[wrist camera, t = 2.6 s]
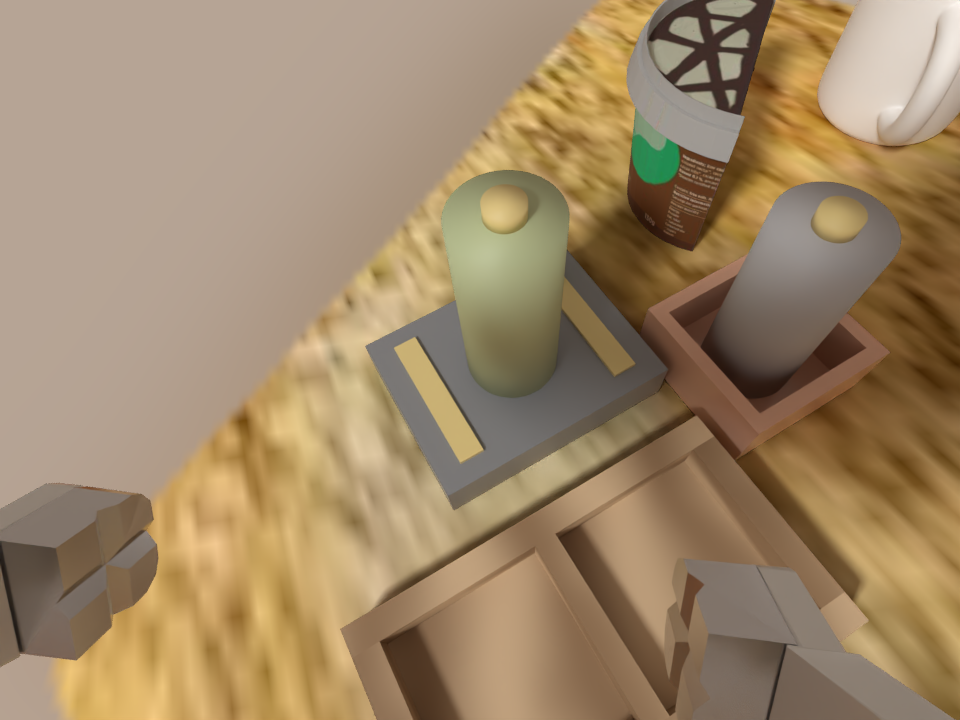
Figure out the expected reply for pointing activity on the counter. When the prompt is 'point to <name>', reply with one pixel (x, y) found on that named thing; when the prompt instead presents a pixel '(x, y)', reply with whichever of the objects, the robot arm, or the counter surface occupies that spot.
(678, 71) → the food container
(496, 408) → the block
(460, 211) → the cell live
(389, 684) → the brown divided tray
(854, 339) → the pink square open box
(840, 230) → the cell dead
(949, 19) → the mug
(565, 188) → the counter surface
